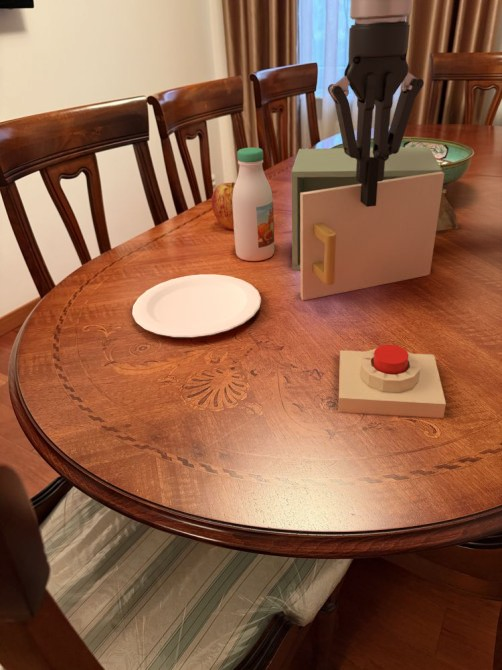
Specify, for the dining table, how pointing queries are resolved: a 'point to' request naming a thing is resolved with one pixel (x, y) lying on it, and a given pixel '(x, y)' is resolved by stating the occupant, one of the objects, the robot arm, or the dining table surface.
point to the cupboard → (346, 176)
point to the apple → (224, 204)
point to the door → (367, 235)
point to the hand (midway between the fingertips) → (368, 203)
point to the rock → (446, 216)
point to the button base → (390, 386)
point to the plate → (196, 306)
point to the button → (390, 359)
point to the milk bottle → (252, 208)
